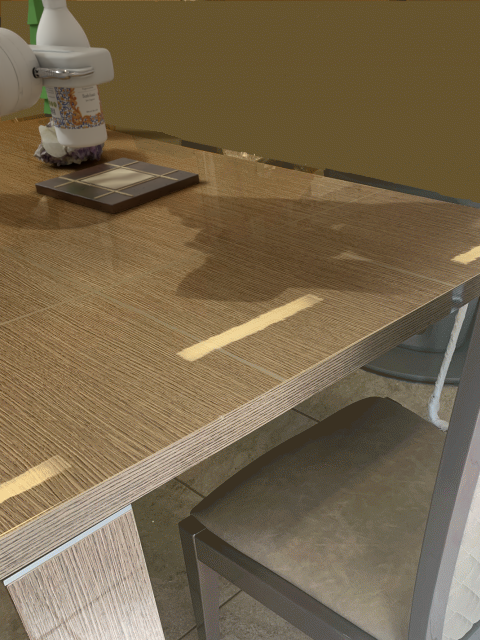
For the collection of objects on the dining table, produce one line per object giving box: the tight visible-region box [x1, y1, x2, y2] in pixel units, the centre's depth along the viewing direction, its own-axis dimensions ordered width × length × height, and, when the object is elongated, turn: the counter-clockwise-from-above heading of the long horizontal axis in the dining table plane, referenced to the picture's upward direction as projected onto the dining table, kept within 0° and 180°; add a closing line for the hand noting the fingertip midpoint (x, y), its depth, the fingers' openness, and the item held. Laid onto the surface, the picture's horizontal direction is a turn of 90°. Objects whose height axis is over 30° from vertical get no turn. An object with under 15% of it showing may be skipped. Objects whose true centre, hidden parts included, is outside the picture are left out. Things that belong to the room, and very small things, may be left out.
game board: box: [34, 157, 200, 215], centre depth 114 cm, size 20×20×2 cm
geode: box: [33, 117, 105, 167], centre depth 125 cm, size 17×9×15 cm
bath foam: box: [36, 0, 108, 148], centre depth 87 cm, size 7×7×20 cm
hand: (68, 55), depth 87 cm, fingers closed on bath foam, 7 cm apart
